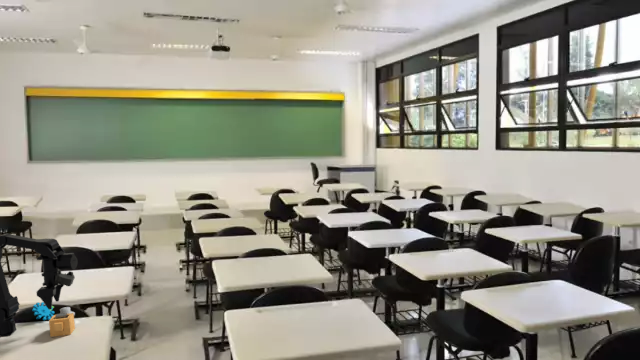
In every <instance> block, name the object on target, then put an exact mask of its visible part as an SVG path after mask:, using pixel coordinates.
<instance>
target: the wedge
mask: <svg viewBox="0 0 640 360" xmlns="http://www.w3.org/2000/svg"><path fill="white" fill-rule="evenodd" d="M55 315H56V316H55V318H56V319H61V318H67V317H68V315H67V313H62V314H60V313H56V314H55Z"/></svg>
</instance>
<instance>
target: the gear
mask: <svg viewBox="0 0 640 360" xmlns="http://www.w3.org/2000/svg"><path fill="white" fill-rule="evenodd" d="M32 307H33V308H32V310H31V311H32V312H34V313H33V315H34V316H36V320H41V318H42V317H43V318H42V320H43V321H46V320H47V321H49V320H50V319H51V318H52V317H53V316H54V315H55V311H54V310H53V309H54V308H55V306H53V305H52V309H48V308H47V306H46V305H45V304H44V302H43V301H42V302H41V303H40V302H36V303H35V304H33V305H32Z"/></svg>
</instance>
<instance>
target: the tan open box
mask: <svg viewBox="0 0 640 360" xmlns="http://www.w3.org/2000/svg"><path fill="white" fill-rule="evenodd" d="M59 311H60V312H59V314H62V313H67V315H68V317H67V318H61V319H56V318H55V316H56V315H57V314H53V315H54V316H53V317H52V318H51V319H50V320H48V323H49V324H48V325H49V334H50V335H49V336H50V338H51V337H61V336H70V335H72V333H73V332H74V331H75V329H76V325H75V316H76V312H75V311H72V310H71V307H70V306H66V307H62V308H60V309H59Z"/></svg>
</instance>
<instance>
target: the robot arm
mask: <svg viewBox="0 0 640 360" xmlns="http://www.w3.org/2000/svg"><path fill="white" fill-rule="evenodd" d="M7 246H11V247H16V248H22V249H25V250H26V249H27V250H31V251H33V252H35V253H36V254H39V255H38V257H37V258H36V261H42V271H43V272H42V273H41V277H43V283H42V286H40V287H39V288H38V290H36V297H38V298H40V300H41V301H42V302H43V303H44V306H47V308H48V309H52V306H53V301H54V300H55V303H57V302H60V297H61V291H62V289H63V287H64V286H66V287H71V286H72V285H73V283H74V281H75V275H74V271H71V270H76V269H77V266H78V264H79V261H78V258H77V256H76V255H75V253H74V252H69V253H68V252H67V253H66V251H65V250H64V249H63V247H62V246H61V245H60V244H59V241H58V240H57V239H55V238H32V237H25V236H22V235H21V236H20V235H16V234H11V233H4V234H1V235H0V337H8V336H12V335H13V334H14V333H15V332H16V331H17V328H16V327H17V326H16V320H15V319H14V317H16V314H17V312H18V310H19V309H20V306H21V304H20V302H19V299H18V296H17V295H16V296H14V295H12V294H11V293H10V289H9V286H8V282H7V279H6V276H5V272H4V269H3V265H2V262H1V261H2V258H3V257H2V256H3V250H2V249H4V248H5V247H7ZM62 270H65V271H66V270H69V271H68V272H67V273H62ZM53 299H54V300H53Z"/></svg>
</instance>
